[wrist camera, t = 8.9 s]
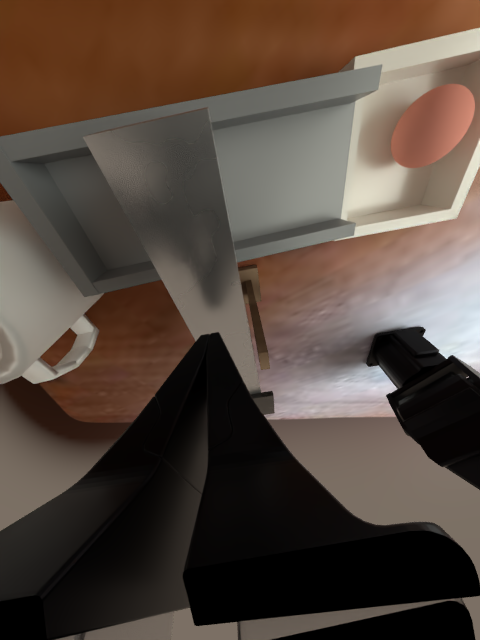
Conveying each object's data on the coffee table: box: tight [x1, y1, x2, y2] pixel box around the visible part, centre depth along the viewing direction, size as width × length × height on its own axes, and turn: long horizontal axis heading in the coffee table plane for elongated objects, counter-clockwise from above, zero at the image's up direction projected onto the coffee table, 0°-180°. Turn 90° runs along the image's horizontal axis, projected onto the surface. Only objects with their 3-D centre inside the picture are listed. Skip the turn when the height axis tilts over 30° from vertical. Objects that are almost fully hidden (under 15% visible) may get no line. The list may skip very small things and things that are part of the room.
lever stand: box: [238, 265, 270, 370], centre depth 18 cm, size 4×6×11 cm, turn 100°
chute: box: [0, 64, 382, 297], centre depth 13 cm, size 8×18×8 cm, turn 100°
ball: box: [391, 84, 475, 168], centre depth 13 cm, size 4×4×4 cm
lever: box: [83, 107, 274, 415], centre depth 14 cm, size 22×5×6 cm, turn 10°
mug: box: [0, 200, 104, 384], centre depth 16 cm, size 14×10×11 cm
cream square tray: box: [334, 28, 480, 241], centre depth 15 cm, size 10×10×4 cm
